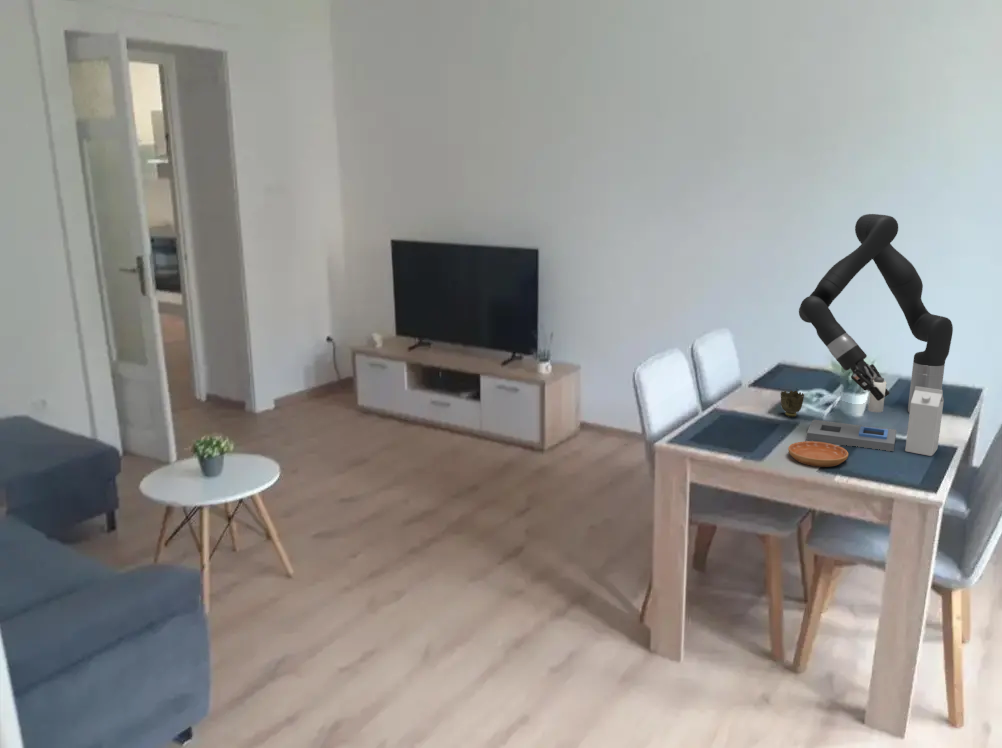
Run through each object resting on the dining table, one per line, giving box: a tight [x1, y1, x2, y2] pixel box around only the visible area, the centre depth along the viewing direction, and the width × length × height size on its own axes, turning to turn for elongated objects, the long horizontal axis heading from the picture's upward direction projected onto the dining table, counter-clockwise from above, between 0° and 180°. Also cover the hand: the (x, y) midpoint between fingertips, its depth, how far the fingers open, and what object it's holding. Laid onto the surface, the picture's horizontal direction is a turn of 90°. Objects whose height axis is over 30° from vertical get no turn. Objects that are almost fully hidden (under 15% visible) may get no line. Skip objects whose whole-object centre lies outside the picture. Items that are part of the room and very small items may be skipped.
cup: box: [780, 389, 805, 418], centre depth 264 cm, size 8×7×8 cm
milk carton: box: [904, 386, 945, 457], centre depth 229 cm, size 7×7×19 cm
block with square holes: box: [805, 419, 897, 452], centre depth 242 cm, size 14×24×3 cm, turn 62°
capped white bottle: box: [867, 376, 887, 413], centre depth 235 cm, size 4×4×10 cm
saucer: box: [787, 440, 849, 468], centre depth 226 cm, size 16×16×3 cm
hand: (884, 397), depth 234 cm, fingers closed on capped white bottle, 4 cm apart
